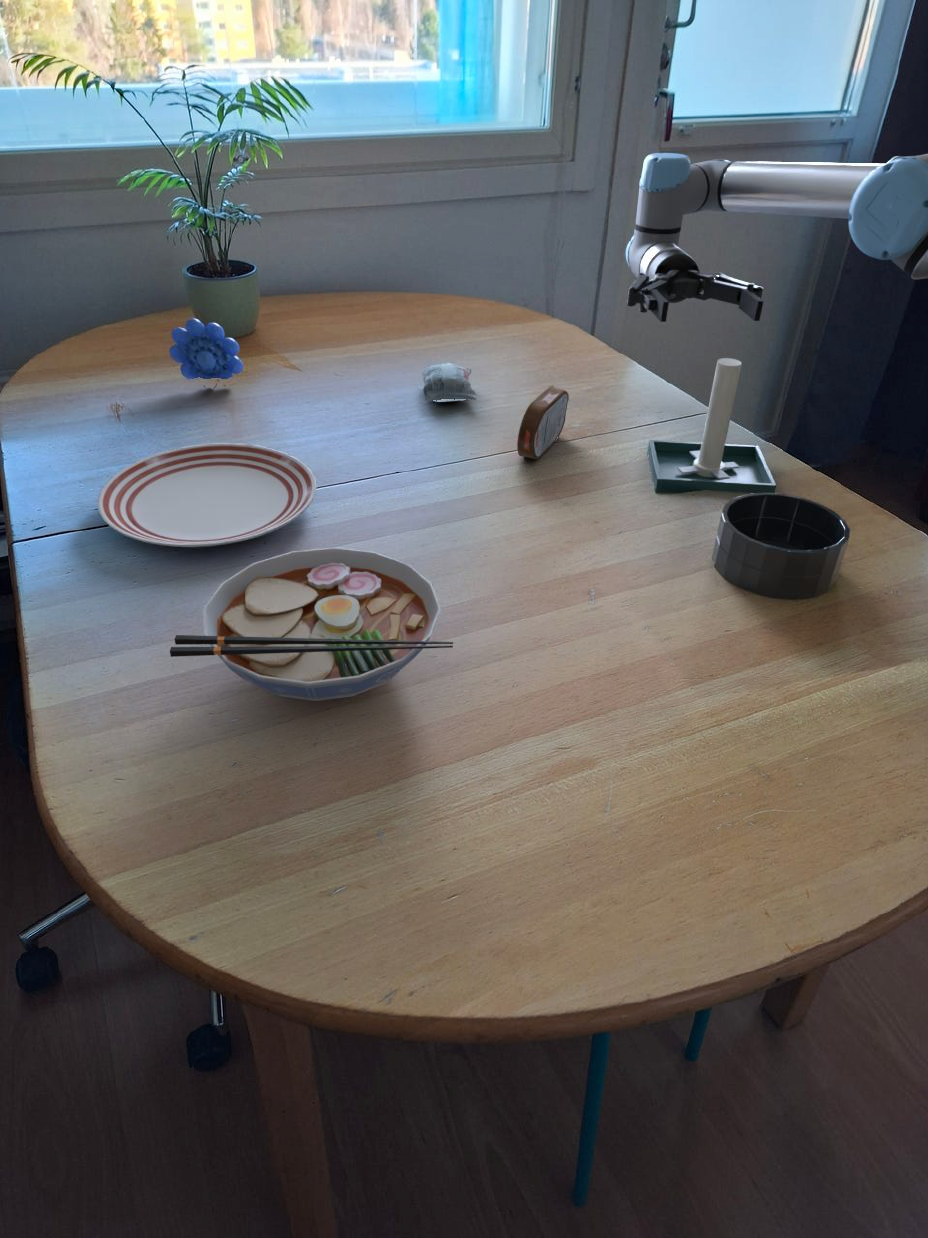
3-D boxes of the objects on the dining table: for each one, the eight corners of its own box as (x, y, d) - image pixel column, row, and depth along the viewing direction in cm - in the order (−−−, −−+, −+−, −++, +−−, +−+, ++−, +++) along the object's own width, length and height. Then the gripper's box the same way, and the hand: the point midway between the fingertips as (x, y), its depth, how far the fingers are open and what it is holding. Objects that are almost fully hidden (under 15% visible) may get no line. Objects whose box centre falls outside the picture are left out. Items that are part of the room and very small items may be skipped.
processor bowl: (817, 545, 110) (831, 496, 106) (847, 609, 99) (865, 556, 95) (703, 538, 111) (714, 489, 107) (721, 601, 100) (733, 548, 96)
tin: (549, 428, 139) (554, 377, 134) (568, 432, 138) (573, 380, 133) (513, 465, 128) (517, 410, 123) (533, 469, 127) (537, 414, 122)
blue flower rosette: (175, 400, 145) (161, 327, 138) (177, 385, 151) (164, 315, 144) (246, 396, 147) (237, 324, 140) (246, 381, 153) (237, 312, 146)
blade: (720, 455, 131) (742, 348, 121) (751, 481, 124) (777, 370, 114) (665, 460, 129) (683, 353, 119) (694, 487, 122) (715, 375, 112)
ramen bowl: (450, 603, 98) (451, 540, 93) (452, 745, 79) (453, 676, 75) (226, 602, 97) (215, 539, 93) (175, 746, 79) (159, 675, 74)
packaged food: (471, 384, 154) (471, 356, 151) (476, 410, 144) (477, 381, 142) (421, 385, 154) (421, 357, 151) (424, 411, 144) (423, 382, 141)
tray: (755, 458, 131) (758, 445, 130) (773, 499, 121) (776, 485, 119) (647, 452, 132) (649, 439, 131) (655, 492, 122) (657, 478, 120)
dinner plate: (351, 530, 111) (350, 506, 109) (132, 586, 99) (126, 562, 98) (274, 449, 130) (272, 428, 128) (82, 489, 119) (77, 467, 117)
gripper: (740, 296, 143) (791, 337, 126) (590, 297, 141) (621, 339, 124) (749, 248, 139) (804, 283, 121) (595, 248, 137) (628, 284, 119)
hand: (712, 311), depth 122 cm, fingers open, 13 cm apart
